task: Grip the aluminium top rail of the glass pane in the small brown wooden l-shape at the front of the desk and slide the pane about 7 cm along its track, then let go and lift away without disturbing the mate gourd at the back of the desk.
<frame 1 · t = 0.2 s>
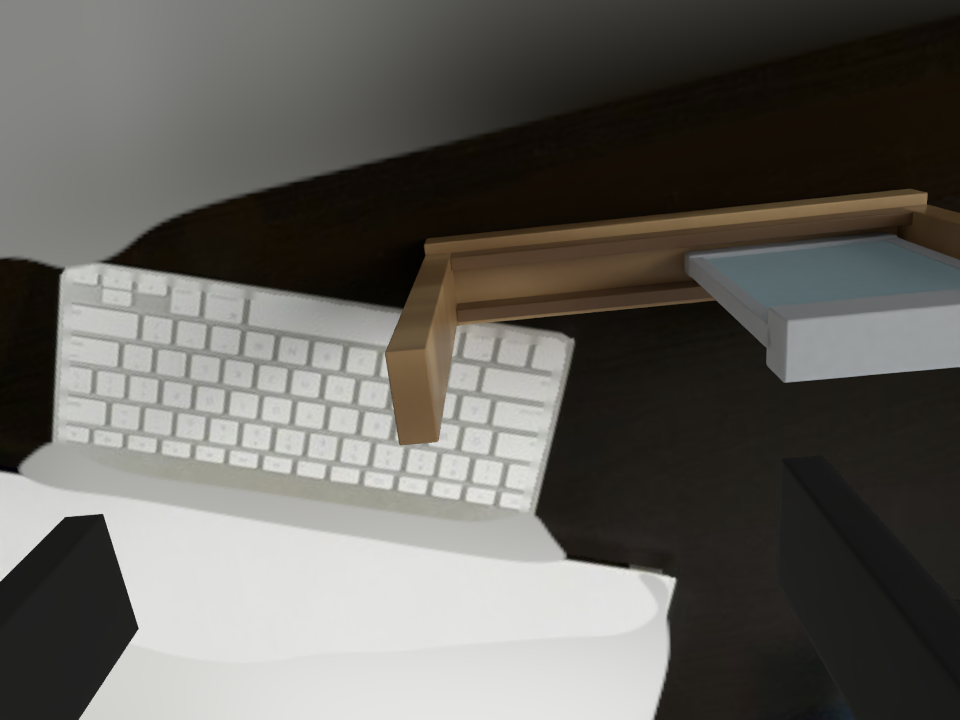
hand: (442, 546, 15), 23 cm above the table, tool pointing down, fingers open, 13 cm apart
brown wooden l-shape: (665, 255, 36), on the table
window pane: (845, 286, 28), point 8 cm above the table, slide at 0.0 cm
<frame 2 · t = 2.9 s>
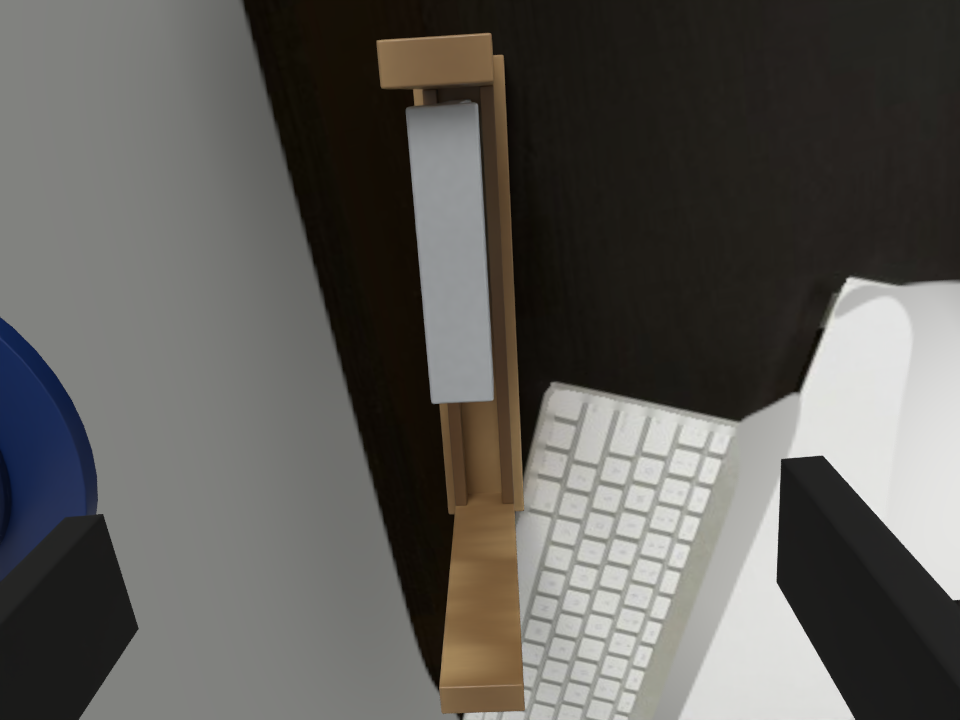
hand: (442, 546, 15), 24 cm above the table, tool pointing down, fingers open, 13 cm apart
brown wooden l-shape: (473, 301, 37), on the table
window pane: (460, 228, 28), point 8 cm above the table, slide at 0.0 cm
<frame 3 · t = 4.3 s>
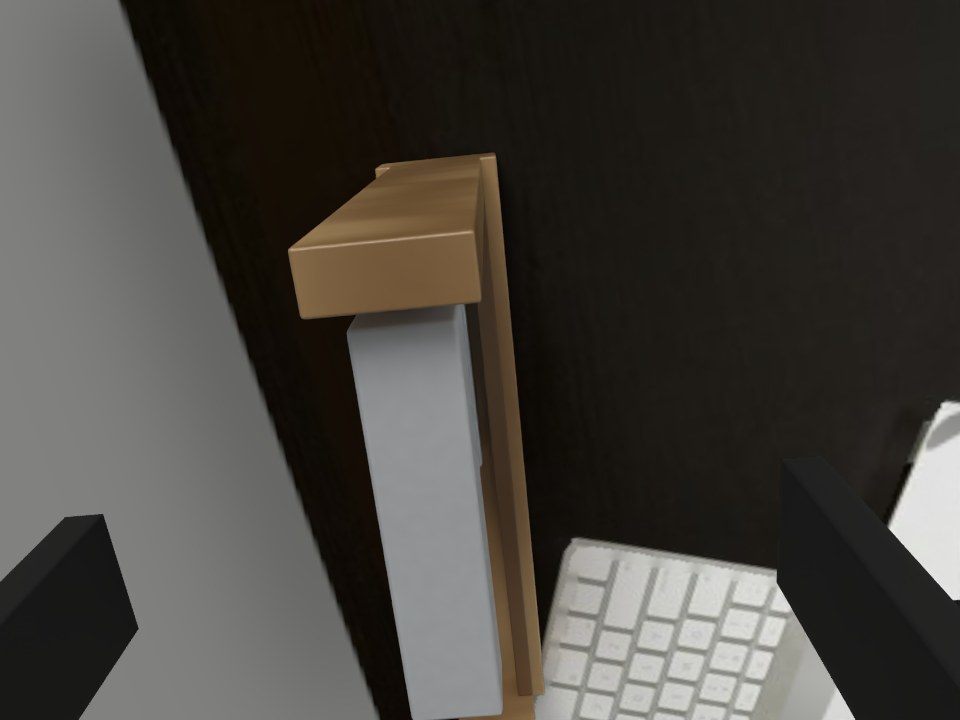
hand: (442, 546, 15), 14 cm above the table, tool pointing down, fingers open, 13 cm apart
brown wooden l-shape: (471, 448, 30), on the table
window pane: (447, 413, 21), point 8 cm above the table, slide at 0.0 cm
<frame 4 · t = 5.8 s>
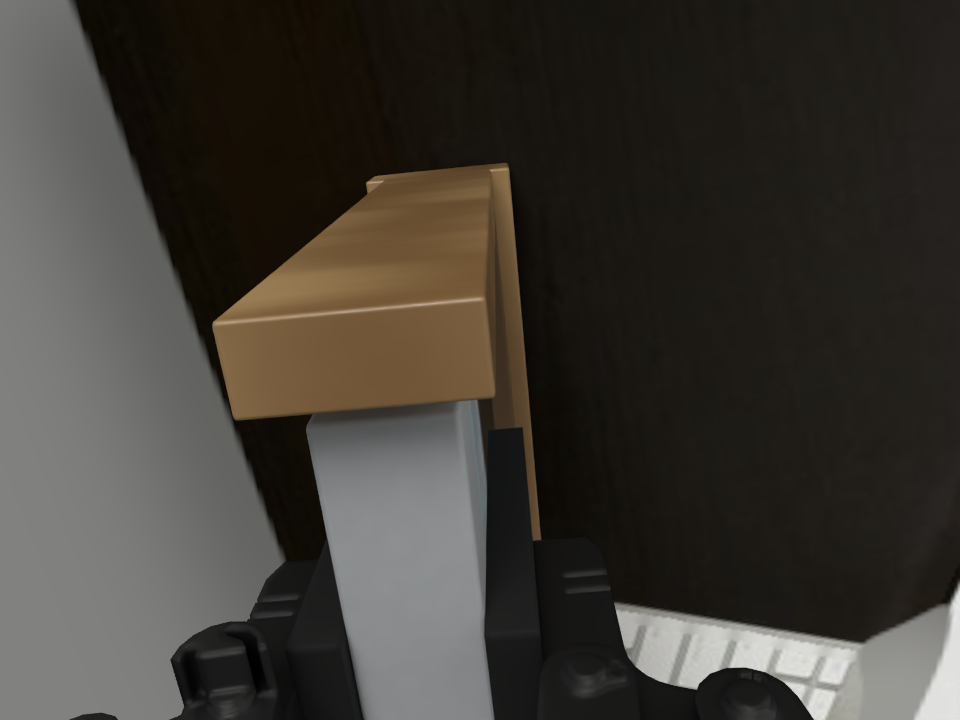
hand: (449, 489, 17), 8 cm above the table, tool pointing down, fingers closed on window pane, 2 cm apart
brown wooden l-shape: (478, 500, 26), on the table
window pane: (449, 486, 17), point 8 cm above the table, slide at 0.0 cm, touching gripper
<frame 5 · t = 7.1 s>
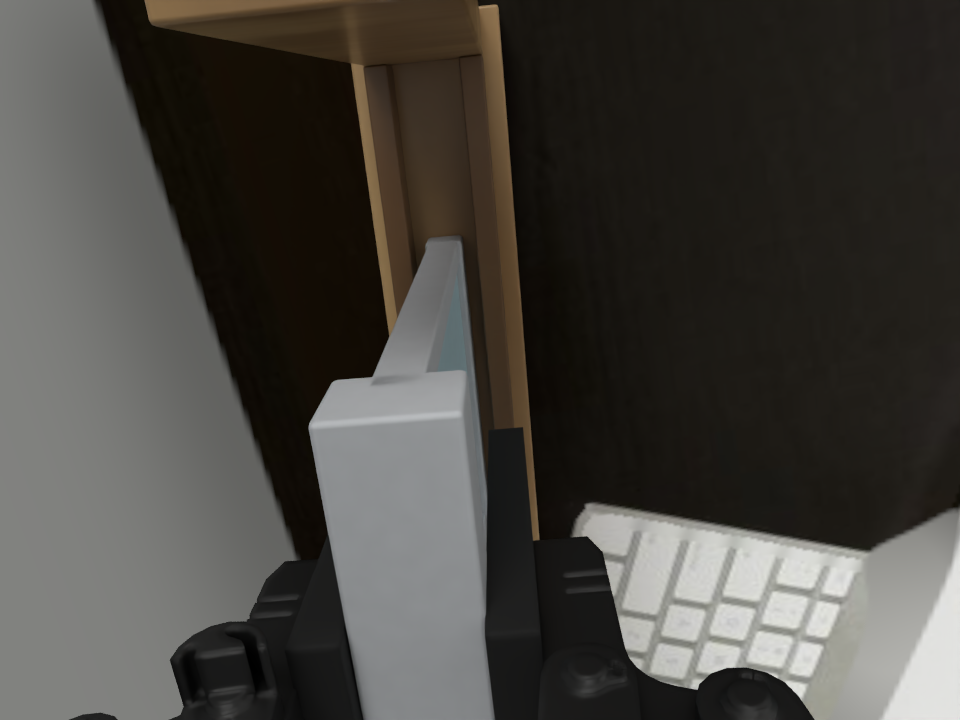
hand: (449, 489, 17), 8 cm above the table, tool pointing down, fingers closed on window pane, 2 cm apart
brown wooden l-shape: (465, 391, 24), on the table
window pane: (449, 485, 17), point 8 cm above the table, slide at 4.1 cm, touching gripper
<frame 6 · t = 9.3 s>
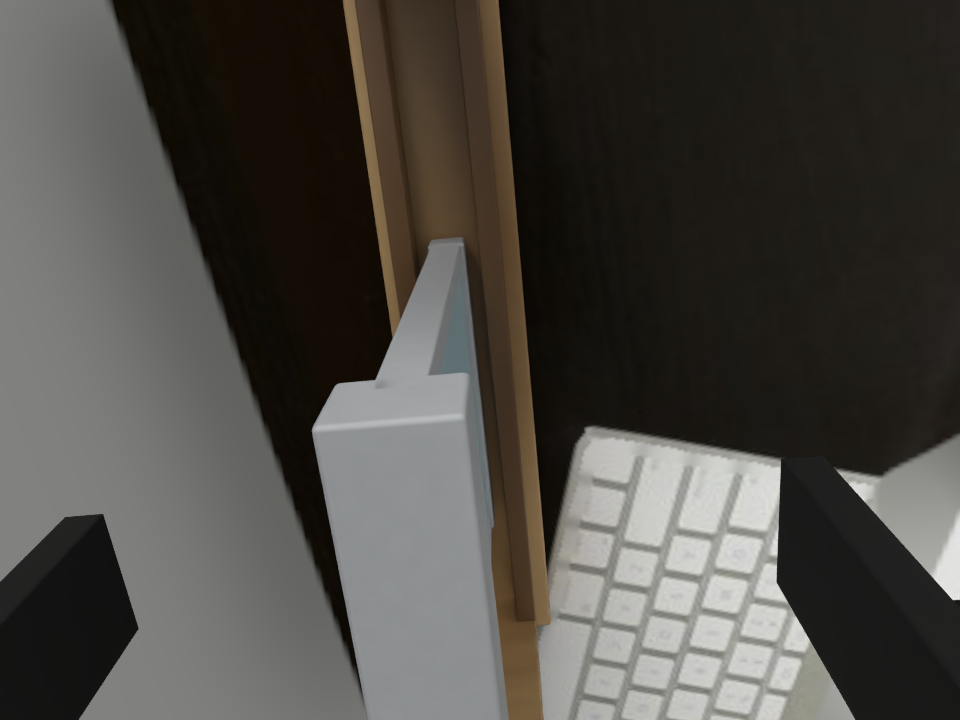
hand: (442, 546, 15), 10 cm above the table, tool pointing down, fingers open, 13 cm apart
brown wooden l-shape: (459, 306, 24), on the table
window pane: (453, 487, 17), point 8 cm above the table, slide at 7.0 cm
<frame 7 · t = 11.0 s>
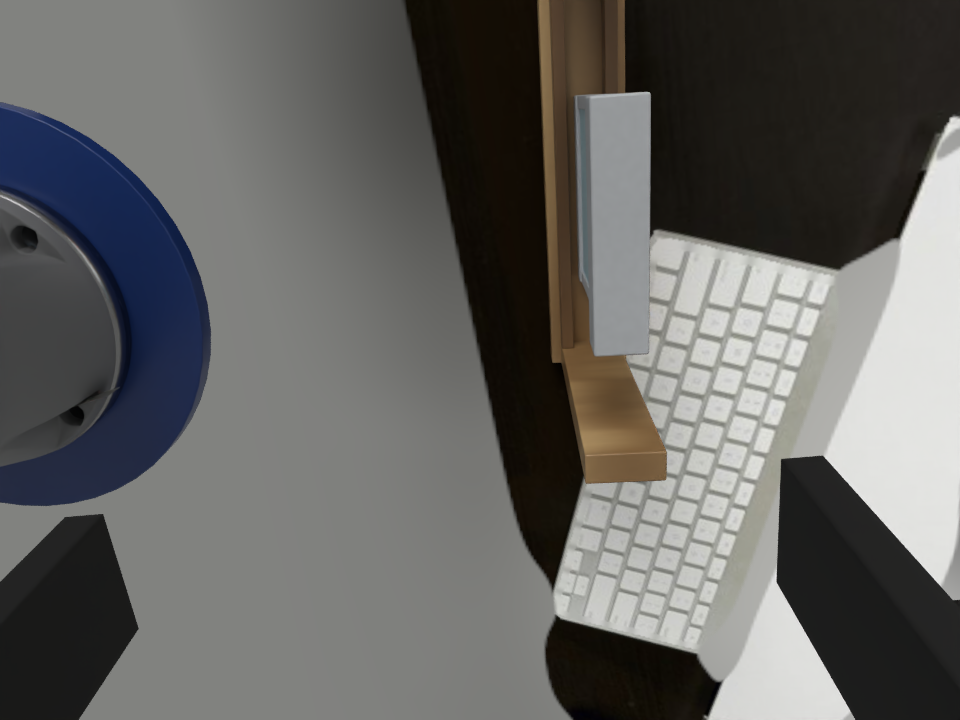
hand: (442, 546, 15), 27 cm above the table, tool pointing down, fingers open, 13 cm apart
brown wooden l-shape: (581, 146, 38), on the table
window pane: (600, 207, 32), point 8 cm above the table, slide at 7.0 cm
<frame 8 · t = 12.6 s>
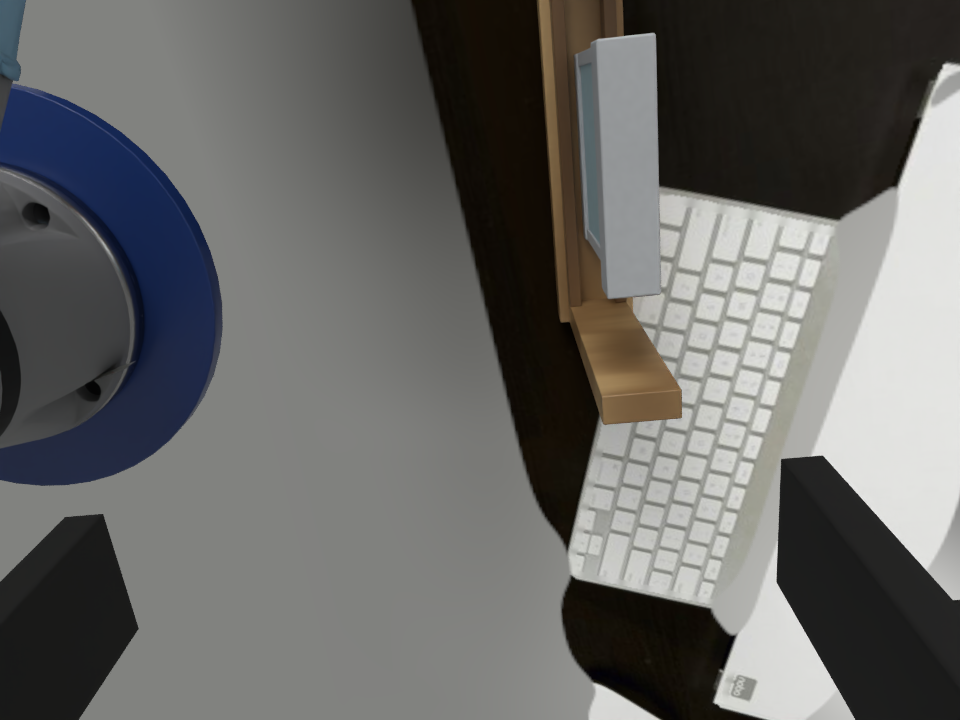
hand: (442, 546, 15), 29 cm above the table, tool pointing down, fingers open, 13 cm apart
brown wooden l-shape: (582, 105, 39), on the table
window pane: (605, 158, 32), point 8 cm above the table, slide at 7.0 cm
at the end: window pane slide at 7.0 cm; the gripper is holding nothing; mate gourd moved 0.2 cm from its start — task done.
